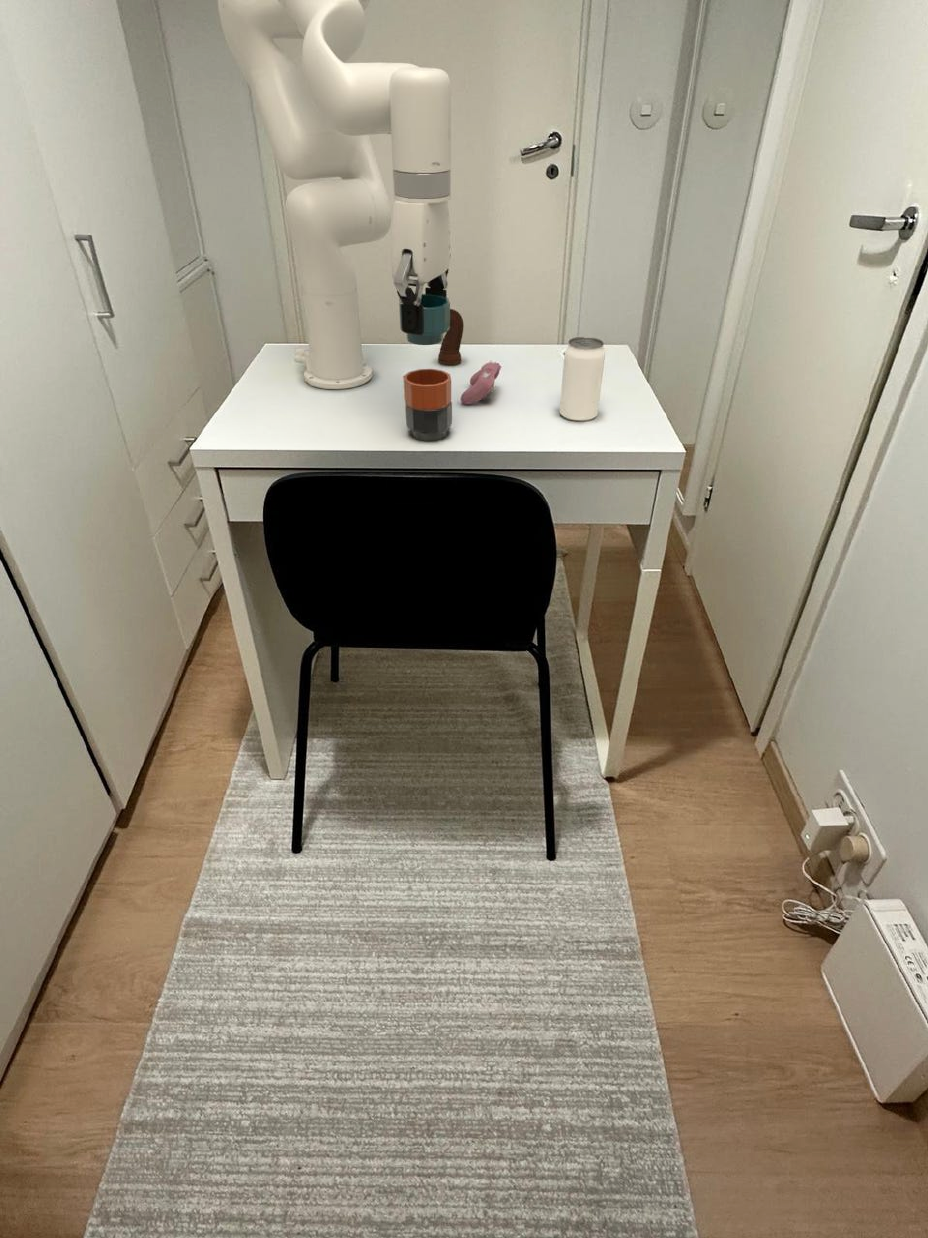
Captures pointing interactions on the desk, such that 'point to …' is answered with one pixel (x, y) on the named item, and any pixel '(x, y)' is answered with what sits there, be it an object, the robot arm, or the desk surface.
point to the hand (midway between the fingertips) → (424, 323)
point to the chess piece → (452, 341)
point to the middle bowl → (427, 389)
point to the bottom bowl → (429, 422)
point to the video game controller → (481, 383)
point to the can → (582, 378)
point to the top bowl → (431, 320)
